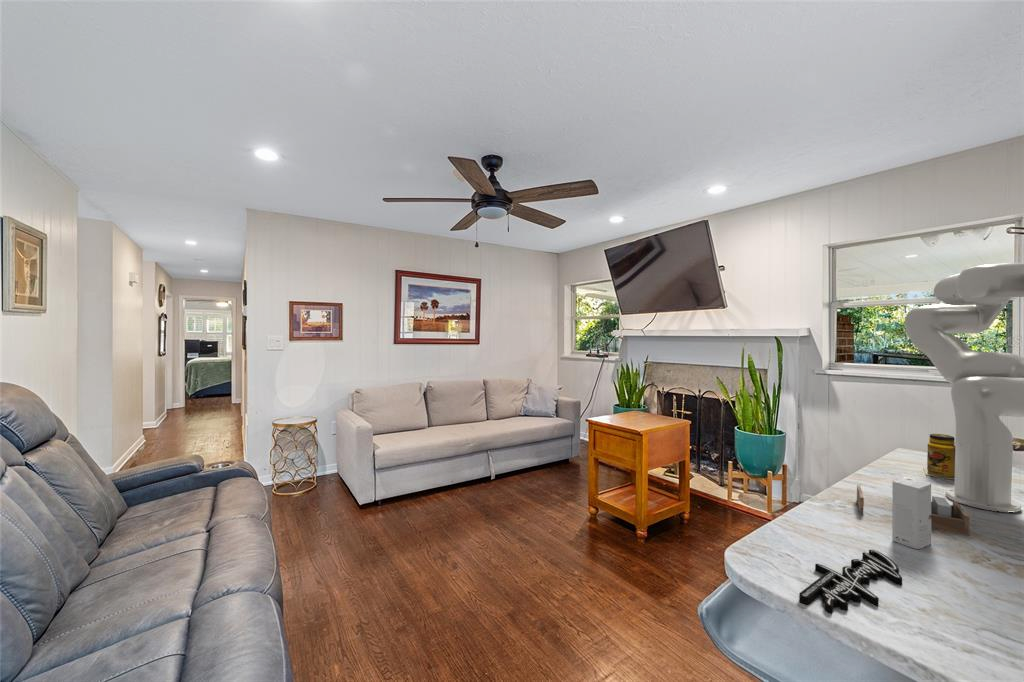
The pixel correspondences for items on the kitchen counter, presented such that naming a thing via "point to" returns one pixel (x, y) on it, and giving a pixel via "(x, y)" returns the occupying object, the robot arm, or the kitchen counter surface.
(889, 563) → the nameplate
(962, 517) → the walnut rack
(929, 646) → the kitchen counter surface
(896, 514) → the skincare box
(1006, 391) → the robot arm
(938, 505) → the slate offcut
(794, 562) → the kitchen counter surface
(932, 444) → the condiment
